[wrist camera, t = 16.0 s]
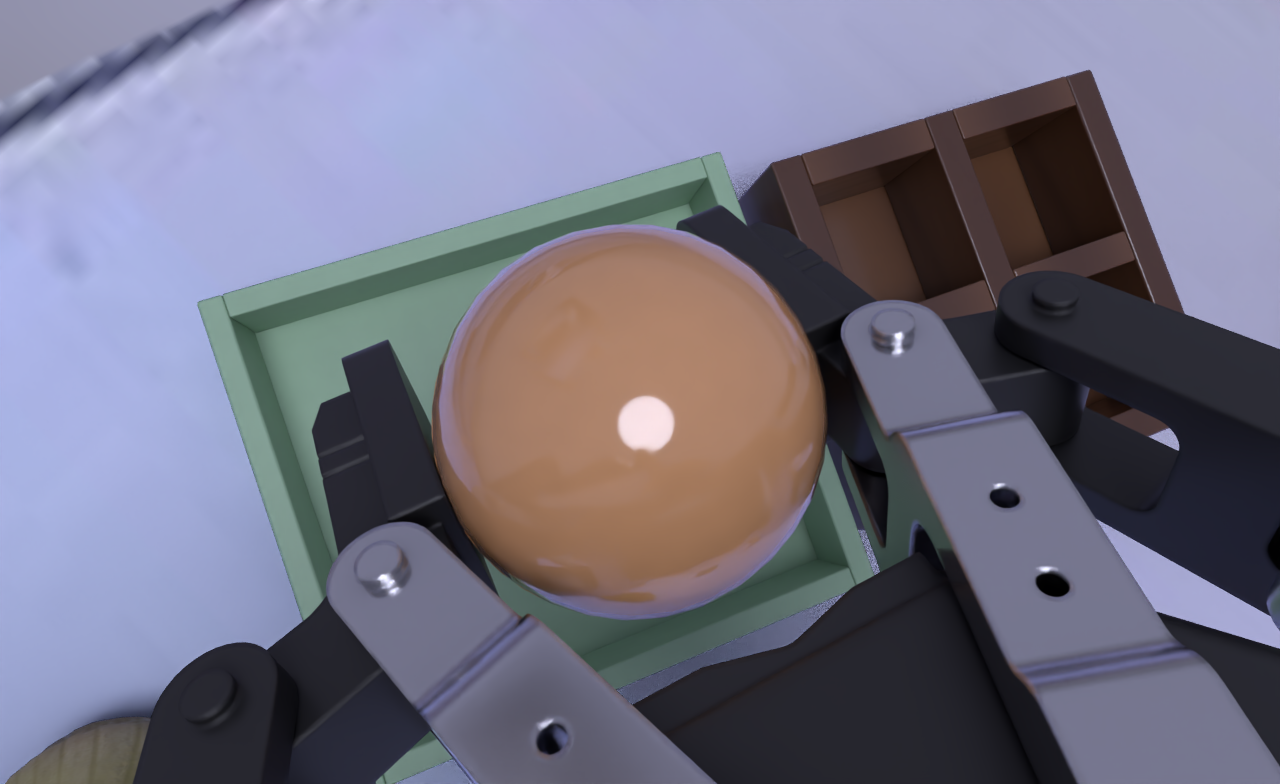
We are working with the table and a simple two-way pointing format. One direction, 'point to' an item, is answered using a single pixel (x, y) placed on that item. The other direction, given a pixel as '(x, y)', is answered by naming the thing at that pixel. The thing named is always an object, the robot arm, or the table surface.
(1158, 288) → the box
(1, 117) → the table surface
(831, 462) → the tray
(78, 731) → the fennel bulb
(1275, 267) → the table surface
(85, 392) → the table surface
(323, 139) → the table surface
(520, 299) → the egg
